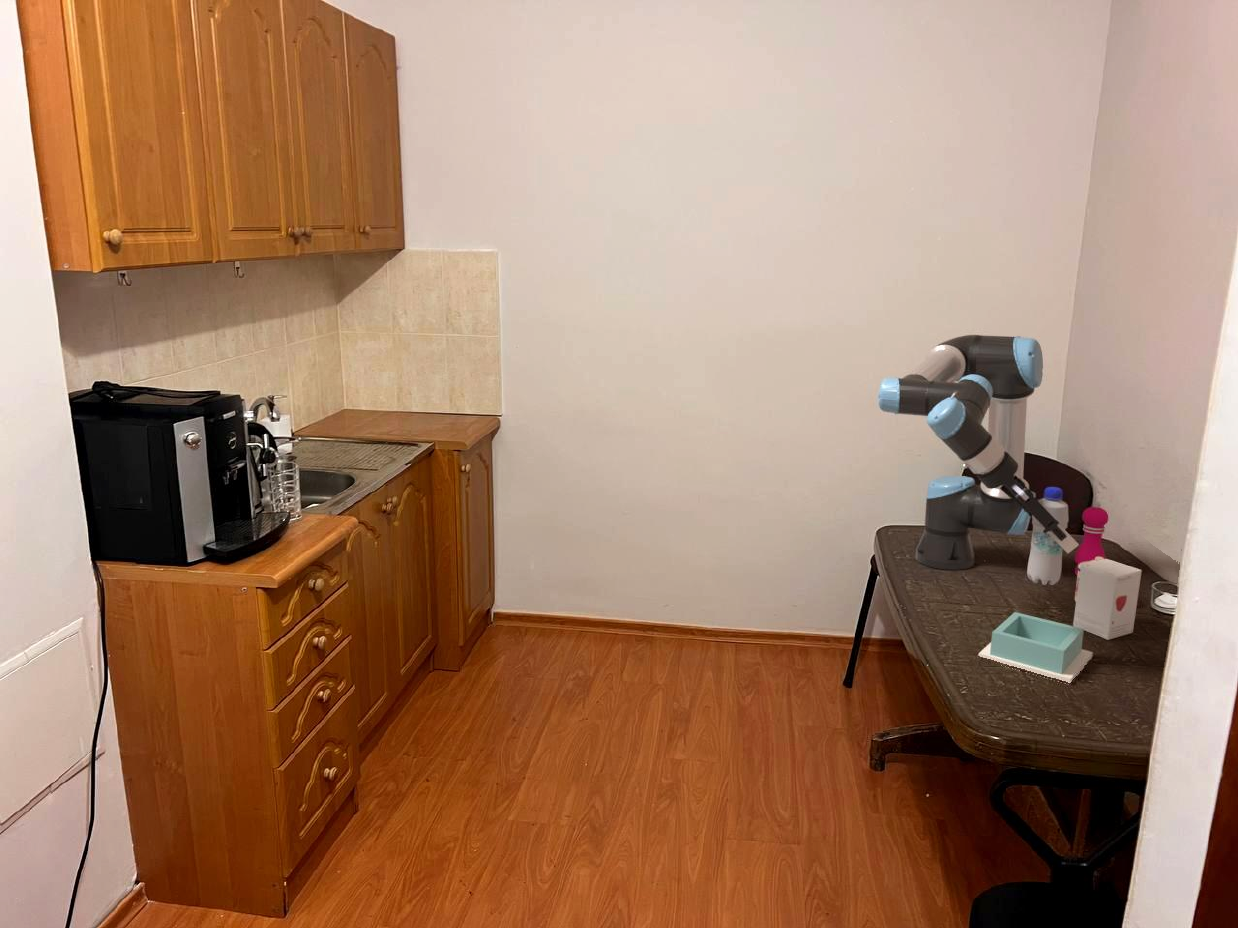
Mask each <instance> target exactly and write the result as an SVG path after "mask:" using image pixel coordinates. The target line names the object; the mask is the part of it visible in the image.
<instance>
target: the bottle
mask: <svg viewBox="0 0 1238 928" xmlns="http://www.w3.org/2000/svg"><path fill="white" fill-rule="evenodd" d="M1043 492H1044V493H1043V497H1042V498H1040V499H1036V500H1037V501H1038V502H1039V503H1040V504H1041V505H1042V506H1043V507H1044V508H1045V509H1046V510H1047V511H1048V512H1049V513H1050V514H1051V515H1052V516H1053V517H1054V518H1055V519H1056V520H1057V521H1058V522H1059V524H1060V525H1061V526H1062V527H1063V528H1064V529H1065V530H1066V529H1067V528H1068V526H1069V525H1068V523H1069V505H1068V504H1067V502H1065V501H1064V500H1063V497H1064V496H1063V493H1064V492H1063V490H1062V488H1060V487H1057V486H1049V487H1048V486H1047V487H1046V488H1045V489H1044V491H1043ZM1031 519H1032V520H1031V524H1032V534H1031V542H1030V553H1029V558H1028V562H1027V571H1026V574H1027V577H1028V578H1027V579H1029V580H1030V581H1032V582H1033V583H1034V584H1038V582H1039V581H1041V584H1042V585H1043V586H1046V585H1047V584H1048V583H1049V585H1055V584H1057V583H1058V582H1059V580H1060V578H1061V575H1062V569H1063V567H1062V566H1063V565H1062V563H1063V551H1064V549H1063V548H1062V547H1061V546H1060V545H1059V544H1058V543H1057V542H1056V541H1055V540H1054V539H1053V538H1052V536H1051V535H1050V534H1049V533H1048V532H1047V533H1044V532H1043V530H1045V529H1044V527H1043V526H1042V525H1041V524H1040V523H1039V522H1038V521H1037V520H1036V518H1035V517H1034V516H1033V515H1032V517H1031Z"/></svg>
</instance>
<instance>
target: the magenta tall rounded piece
mask: <svg viewBox="0 0 1238 928" xmlns="http://www.w3.org/2000/svg"><path fill="white" fill-rule="evenodd" d="M1108 514H1109V513H1108V511H1106V509H1104V508H1102V507H1101V503H1100V501H1094V502H1093V504H1092V506H1089V507H1087V508H1086V509H1084V511H1083V512H1082V515H1081V517H1082V518H1081V519H1082V521H1083V523H1084V524H1083V528H1082V531H1084V532H1083V533H1084V534H1083V539H1082V541H1081V543H1080V544H1079V546H1078V547H1077V548H1078V549H1077V550H1076V552H1075V554H1074V561H1075V563H1076V566H1075V569H1074V570H1075V571H1074V574H1075V576H1077V575H1078V569H1077V567H1078V565H1079V564H1080V563H1082V562H1087V561H1091V560H1095V558H1096V557H1103V558H1104V559H1107V558H1106V554H1105V551H1104V548H1103V544H1102V541H1103V540H1102V539H1103V534H1105V529H1106V527H1105V525H1107V523H1108V521H1109V515H1108Z"/></svg>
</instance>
